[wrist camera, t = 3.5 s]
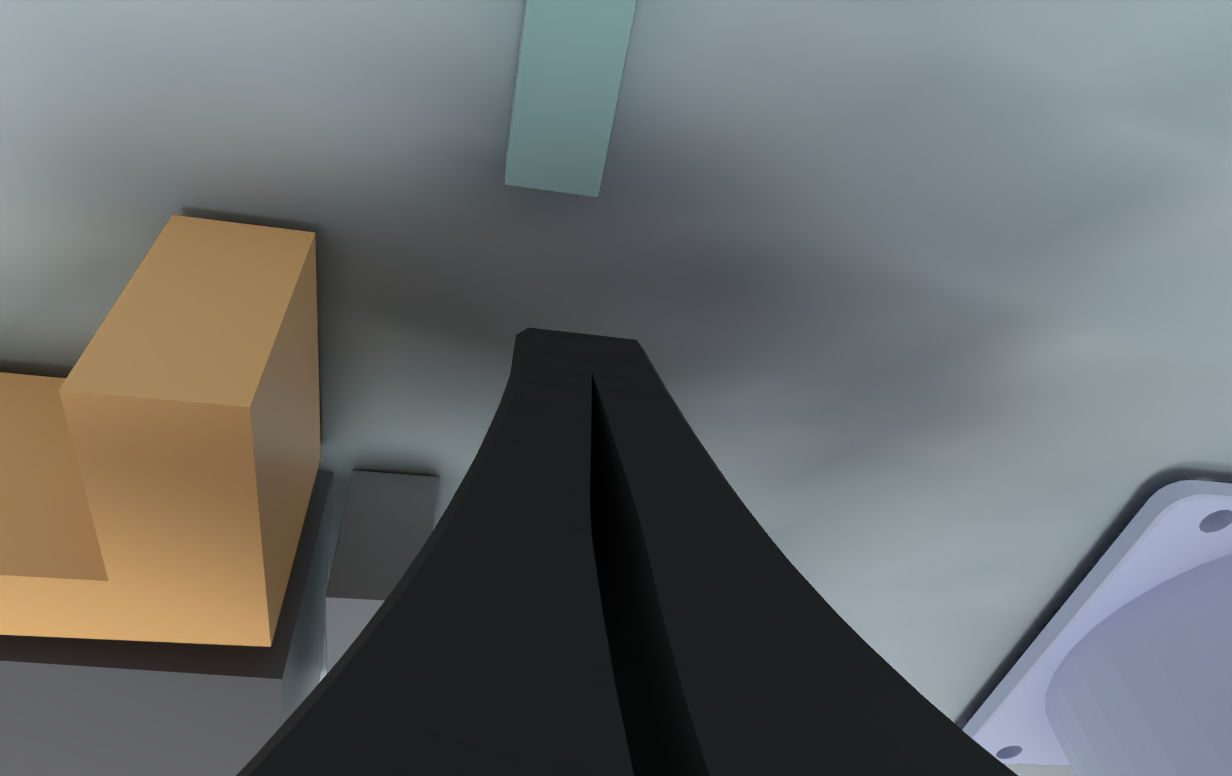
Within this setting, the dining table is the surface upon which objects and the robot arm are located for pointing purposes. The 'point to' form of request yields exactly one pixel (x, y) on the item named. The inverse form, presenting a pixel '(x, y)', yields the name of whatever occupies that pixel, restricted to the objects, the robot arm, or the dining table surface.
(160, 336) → the orange l-shaped block
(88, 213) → the dining table surface
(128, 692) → the plug block
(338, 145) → the dining table surface
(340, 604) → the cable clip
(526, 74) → the rails
